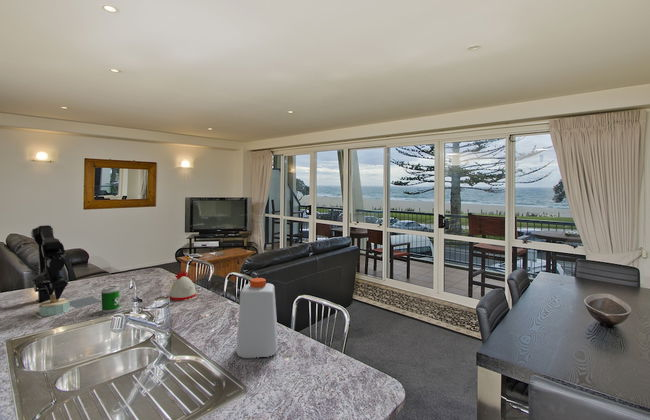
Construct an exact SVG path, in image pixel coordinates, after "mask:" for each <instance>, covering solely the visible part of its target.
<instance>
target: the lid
mask: <svg viewBox="0 0 650 420" xmlns="http://www.w3.org/2000/svg"><path fill="white" fill-rule="evenodd" d="M68 300H69V299H68V298H66V297H65V298H64V297H62V298H61V297H60V298H59V299H58V300H56V297H55V293H53V294H52V295H50V300H48V301H45V302H42V303H40V304H41V307H54V306H59V305H63V304H65V303H67V302H68Z"/></svg>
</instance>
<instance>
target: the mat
mask: <svg viewBox="0 0 650 420" xmlns="http://www.w3.org/2000/svg"><path fill="white" fill-rule="evenodd" d="M69 302H70V306H72V307H73V308H76V309H79V308H82V307H86V306H87V307H88V306H90V305H93V304H98V303H102V299H98V298H96V297H94V296H88V297H82V298H77V299H75V300H69Z"/></svg>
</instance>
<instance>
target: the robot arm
mask: <svg viewBox="0 0 650 420" xmlns="http://www.w3.org/2000/svg"><path fill="white" fill-rule="evenodd" d="M30 234H31V239H32V240H33V242H34V243H35V244H36V245H37V256H38V268H39V269H38V273H37V274H36V275H34V276H33V275H32V276H31V277H30V278H29V280H30V282H31V284H32V285H33V291H34V293H38V294H37V296H38V297H37V298H38V299H36V300H35V301H36V302H37V303H38V304H41V303H42V302H45V301H48V300H50V295H52V294H55V297H56V300H58V299H59V298H61V296H62V294H63V292H64V291H65V289H66V287H67V286H68V285H69V281H68V280H67V279H65V278H63V276H62V274H61V271H62V270H63V268H64V266H65V265H66V264H65V263H66V262H65V260H64V259H63V258H61V256H65V253H66V250H65V247H64V244H63V242H61V240H60V239H59V238H55V236H54V227H52V226H51V225H46V224H45V225H39V226H37V227H35V228H33V229H32V230H31V233H30Z"/></svg>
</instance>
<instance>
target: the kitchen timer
mask: <svg viewBox="0 0 650 420" xmlns="http://www.w3.org/2000/svg"><path fill="white" fill-rule="evenodd" d="M174 277H175V278H176V280H175V281H174V282H173V283H172V285H171V288H170V290H169V291H170V292H169V299H170V300H172V299H173V300H172V301H177V300H179V301H186V300H185V299H187V300H190V299H189V298H191V299H193V298H195V297H196V295H197V291H196V288H195V284H194V283H193V281H192V280H191V279H190V278H189V277H190V273H188V271H186V272H185V270H180V273H179V271H177V274H175V276H174ZM194 296H195V297H194ZM192 297H193V298H192Z"/></svg>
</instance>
